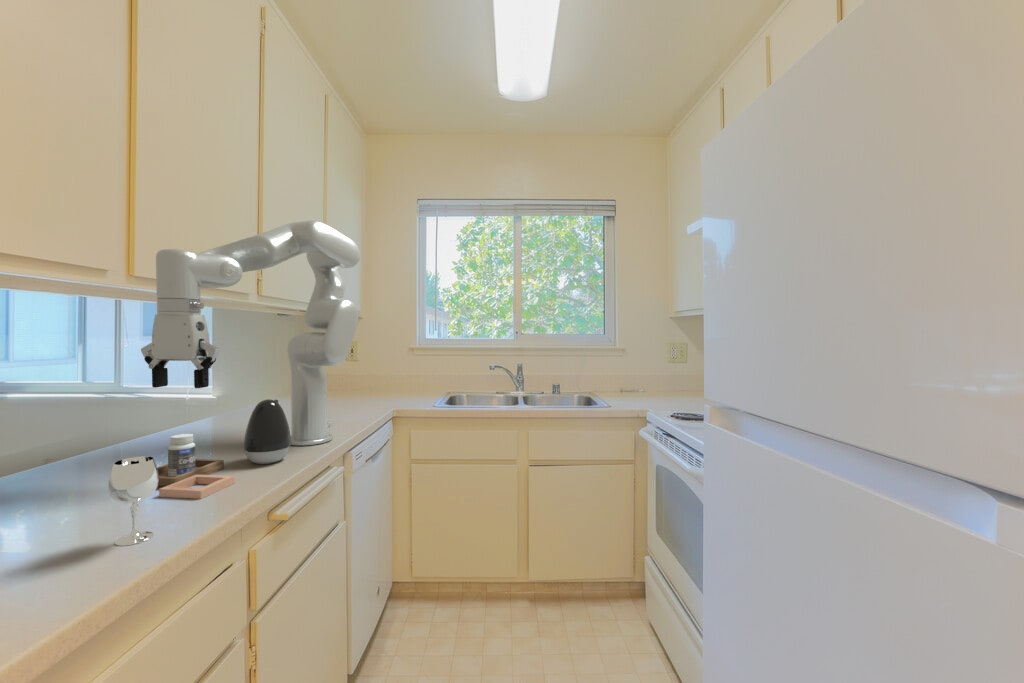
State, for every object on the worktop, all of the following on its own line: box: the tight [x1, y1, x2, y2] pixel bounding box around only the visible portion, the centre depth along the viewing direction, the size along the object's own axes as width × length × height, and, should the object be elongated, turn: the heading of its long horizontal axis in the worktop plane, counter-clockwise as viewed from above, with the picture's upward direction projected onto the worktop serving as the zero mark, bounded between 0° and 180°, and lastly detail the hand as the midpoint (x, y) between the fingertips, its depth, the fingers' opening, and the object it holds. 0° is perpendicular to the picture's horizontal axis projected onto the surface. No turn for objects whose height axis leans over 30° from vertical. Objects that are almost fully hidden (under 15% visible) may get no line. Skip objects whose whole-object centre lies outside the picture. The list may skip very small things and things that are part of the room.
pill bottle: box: [167, 433, 196, 477], centre depth 94 cm, size 5×5×8 cm
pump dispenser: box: [243, 399, 292, 465], centre depth 106 cm, size 10×10×15 cm
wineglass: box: [108, 455, 159, 547], centre depth 66 cm, size 6×6×12 cm
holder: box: [158, 474, 235, 500], centre depth 87 cm, size 9×9×2 cm
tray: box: [157, 458, 225, 489], centre depth 94 cm, size 13×10×2 cm
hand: (180, 387), depth 94 cm, fingers open, 9 cm apart
